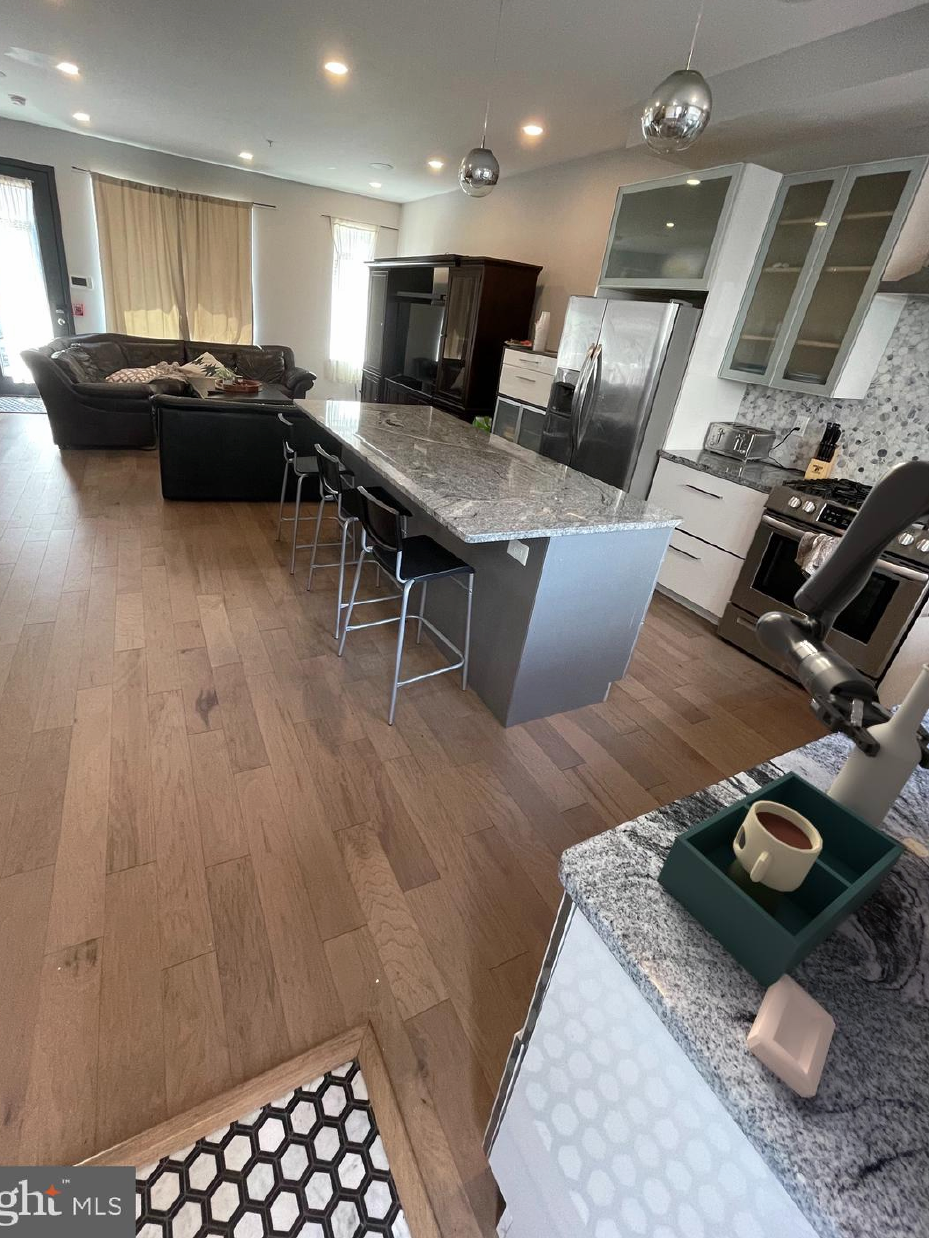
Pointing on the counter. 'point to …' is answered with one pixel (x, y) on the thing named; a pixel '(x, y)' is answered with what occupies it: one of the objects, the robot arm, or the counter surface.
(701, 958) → the counter surface
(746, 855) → the character mug
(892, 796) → the bottle
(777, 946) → the divided storage tray
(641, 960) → the counter surface
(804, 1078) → the soap bar
